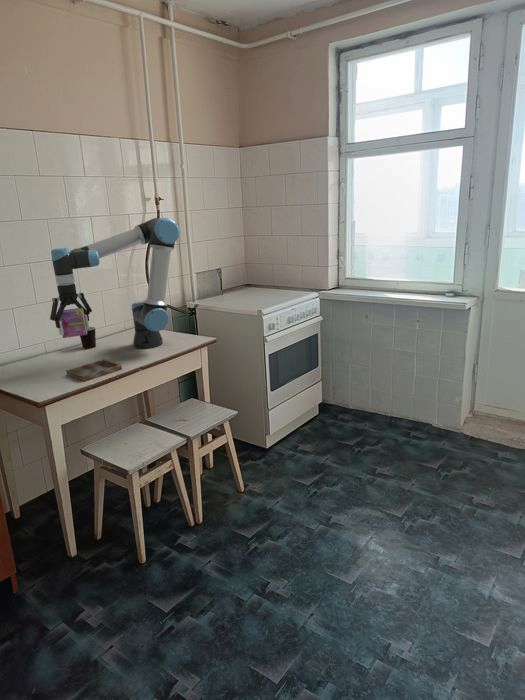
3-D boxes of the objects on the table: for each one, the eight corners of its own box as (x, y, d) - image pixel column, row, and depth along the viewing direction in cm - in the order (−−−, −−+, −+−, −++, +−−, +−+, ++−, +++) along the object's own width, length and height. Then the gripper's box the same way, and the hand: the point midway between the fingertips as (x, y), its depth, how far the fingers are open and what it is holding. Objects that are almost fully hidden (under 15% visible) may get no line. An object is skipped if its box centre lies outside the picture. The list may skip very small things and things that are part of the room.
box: (62, 338, 222) (57, 312, 218) (63, 335, 227) (59, 310, 224) (86, 335, 224) (82, 309, 221) (87, 332, 230) (83, 307, 226)
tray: (104, 363, 232) (103, 359, 231) (122, 369, 222) (121, 364, 222) (67, 375, 219) (66, 370, 218) (83, 381, 209) (83, 376, 209)
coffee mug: (94, 349, 257) (91, 330, 254) (78, 350, 257) (75, 331, 254) (102, 343, 268) (99, 325, 265) (86, 343, 268) (83, 325, 265)
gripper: (86, 279, 230) (94, 324, 236) (35, 288, 213) (45, 336, 219) (94, 280, 225) (102, 326, 231) (43, 289, 208) (53, 339, 214)
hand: (74, 331), depth 225 cm, fingers closed on box, 12 cm apart
